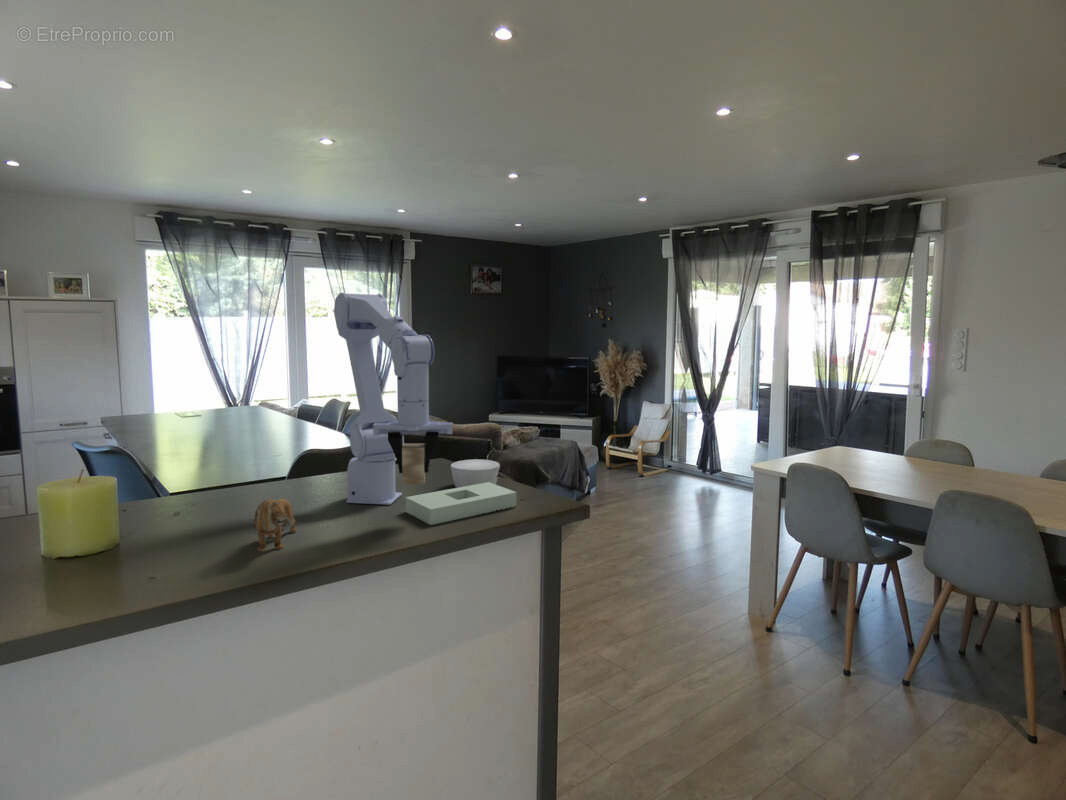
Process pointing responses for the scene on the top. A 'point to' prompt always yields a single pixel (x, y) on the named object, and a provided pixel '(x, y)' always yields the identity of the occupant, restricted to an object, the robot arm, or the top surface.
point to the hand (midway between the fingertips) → (413, 471)
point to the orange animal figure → (273, 521)
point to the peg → (413, 464)
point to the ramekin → (474, 472)
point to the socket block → (460, 502)
